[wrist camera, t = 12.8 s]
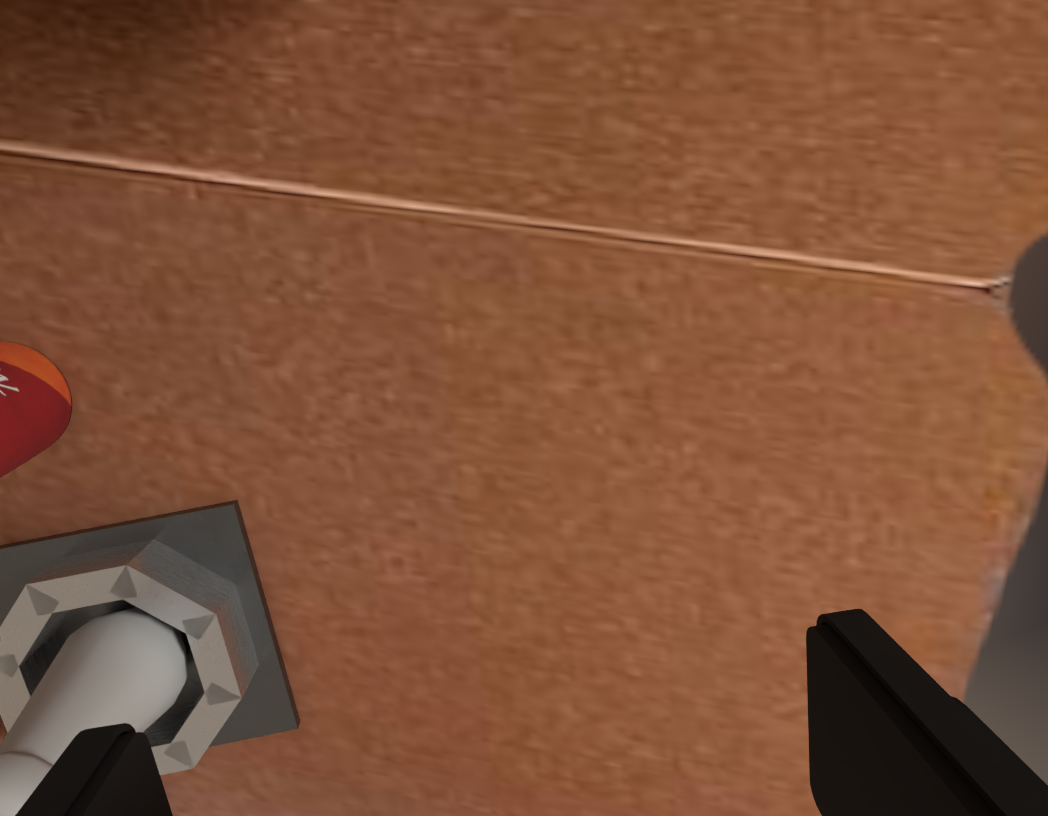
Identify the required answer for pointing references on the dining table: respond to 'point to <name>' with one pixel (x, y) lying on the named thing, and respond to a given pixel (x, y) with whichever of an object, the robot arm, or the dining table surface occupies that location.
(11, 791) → the grey peg
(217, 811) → the dining table surface
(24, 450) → the paper cup
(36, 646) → the ring collar
